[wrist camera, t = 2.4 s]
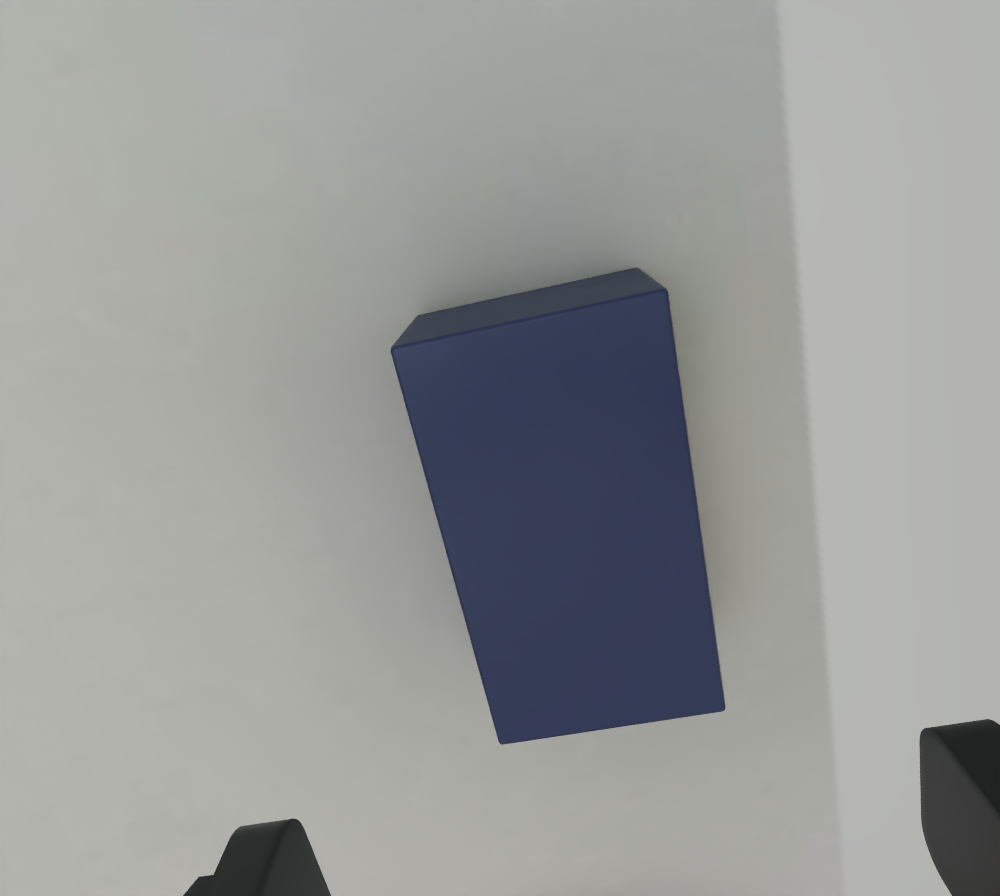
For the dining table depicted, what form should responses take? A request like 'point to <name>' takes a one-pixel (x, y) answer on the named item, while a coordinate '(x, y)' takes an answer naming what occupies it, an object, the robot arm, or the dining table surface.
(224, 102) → the dining table surface
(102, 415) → the dining table surface
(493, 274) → the dining table surface
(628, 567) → the book
